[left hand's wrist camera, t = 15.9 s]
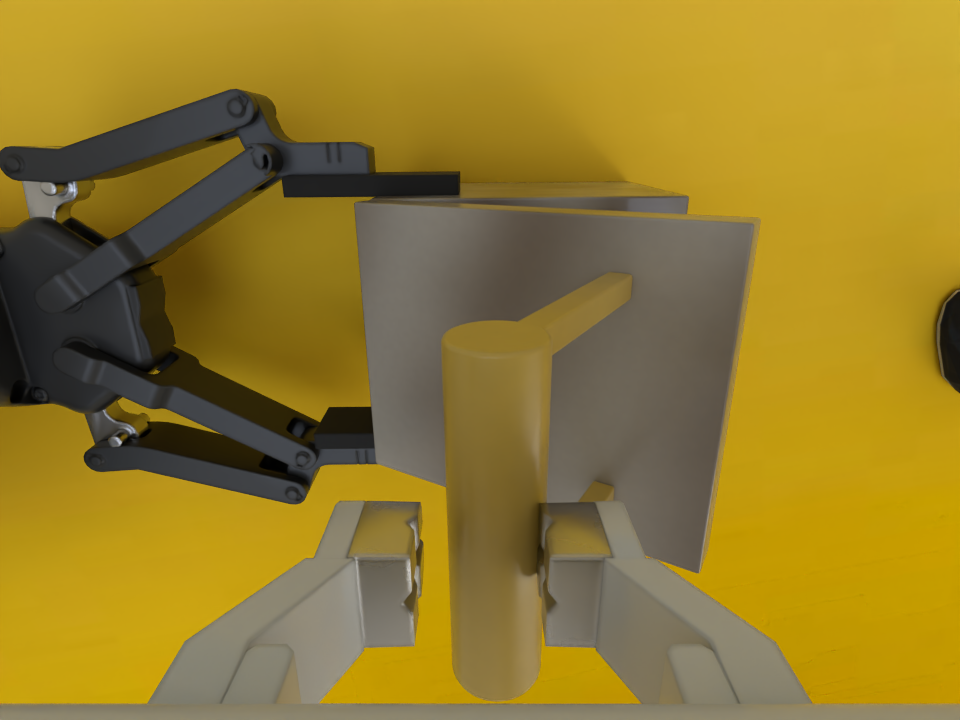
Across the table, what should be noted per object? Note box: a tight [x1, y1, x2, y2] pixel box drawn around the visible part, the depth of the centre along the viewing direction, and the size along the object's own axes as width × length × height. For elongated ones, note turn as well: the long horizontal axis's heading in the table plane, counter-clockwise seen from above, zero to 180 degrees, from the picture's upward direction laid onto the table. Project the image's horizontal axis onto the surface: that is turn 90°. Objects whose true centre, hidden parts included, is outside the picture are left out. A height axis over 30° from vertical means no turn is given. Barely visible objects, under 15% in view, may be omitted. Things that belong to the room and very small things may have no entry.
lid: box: [354, 199, 761, 701], centre depth 15 cm, size 12×10×9 cm
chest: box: [371, 182, 689, 214], centre depth 26 cm, size 11×10×9 cm
